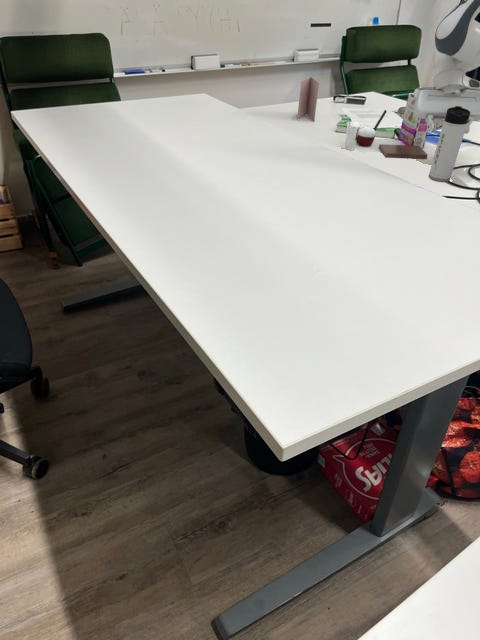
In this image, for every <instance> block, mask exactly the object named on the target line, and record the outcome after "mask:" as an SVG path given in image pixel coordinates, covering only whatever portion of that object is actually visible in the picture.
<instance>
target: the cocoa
mask: <svg viewBox="0 0 480 640" xmlns="http://www.w3.org/2000/svg"><path fill="white" fill-rule="evenodd" d="M387 112H388V111H387V110H386V109H384V110H383V112H382V114H381V115H380V116H379V117H380V118H379V119H378V120H377V122H376V124H375V125H374V127H370V126H362V127H360V130H359V134H358V137H357V141H356V144H357V145H358V146H360V147H370V146H372V144H373V143H374V141H375V137H376V134H377V131H376V130H377V129H378V127H379V125H380V124H381V122H382V120H383V119H384V117H385V115H386V114H387Z"/></svg>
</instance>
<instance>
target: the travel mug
mask: <svg viewBox="0 0 480 640" xmlns="http://www.w3.org/2000/svg"><path fill="white" fill-rule="evenodd" d="M469 116H470V111H469V110H467V109H464V108H462V107H461V106H455V107H452V108H449V109H447V113H446V117H445V120H443V123H442V127H441V129H440V133H439V138H438V141H437V146H436V148H435V151H434V155H433V158H432V163H431V166H430V169H429V172H428V179H429V180H431V181H433V182H437V183H448V182H450V180H451V178H452V174H453V171H454V168H455V166H456V165H455V164H456V161H457V158H458V155H459V152H460V149H461V147H462V146H461V145H462V143H463V139H464V136H465V134H464V133H465V129H466V125H467V122H468V119H469Z"/></svg>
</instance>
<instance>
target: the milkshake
mask: <svg viewBox="0 0 480 640" xmlns="http://www.w3.org/2000/svg"><path fill="white" fill-rule="evenodd" d="M361 126H362V125H361V124H360V123H359V122H358V121H350V120H348V122H347V123H346V134H345V146H344V150H345V149H346V150H345V151H347V150H349V151H348V152H354V151H355V148H356V145H357V143H356V142H357V137H358V134H359V130H360V128H362V127H361ZM353 150H354V151H353Z"/></svg>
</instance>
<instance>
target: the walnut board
mask: <svg viewBox="0 0 480 640" xmlns="http://www.w3.org/2000/svg"><path fill="white" fill-rule="evenodd" d="M378 149H379V152H381V154H382V155H383V157H384V158H385V159H386V158H387V159H407V160H408V159H411V160H427V159H428V155H429V154H428V153H426V152H425V150H424V148H423V149H422V148H421V147H420V146H409V145H405V144H384V143H383V144H379V145H378Z"/></svg>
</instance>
